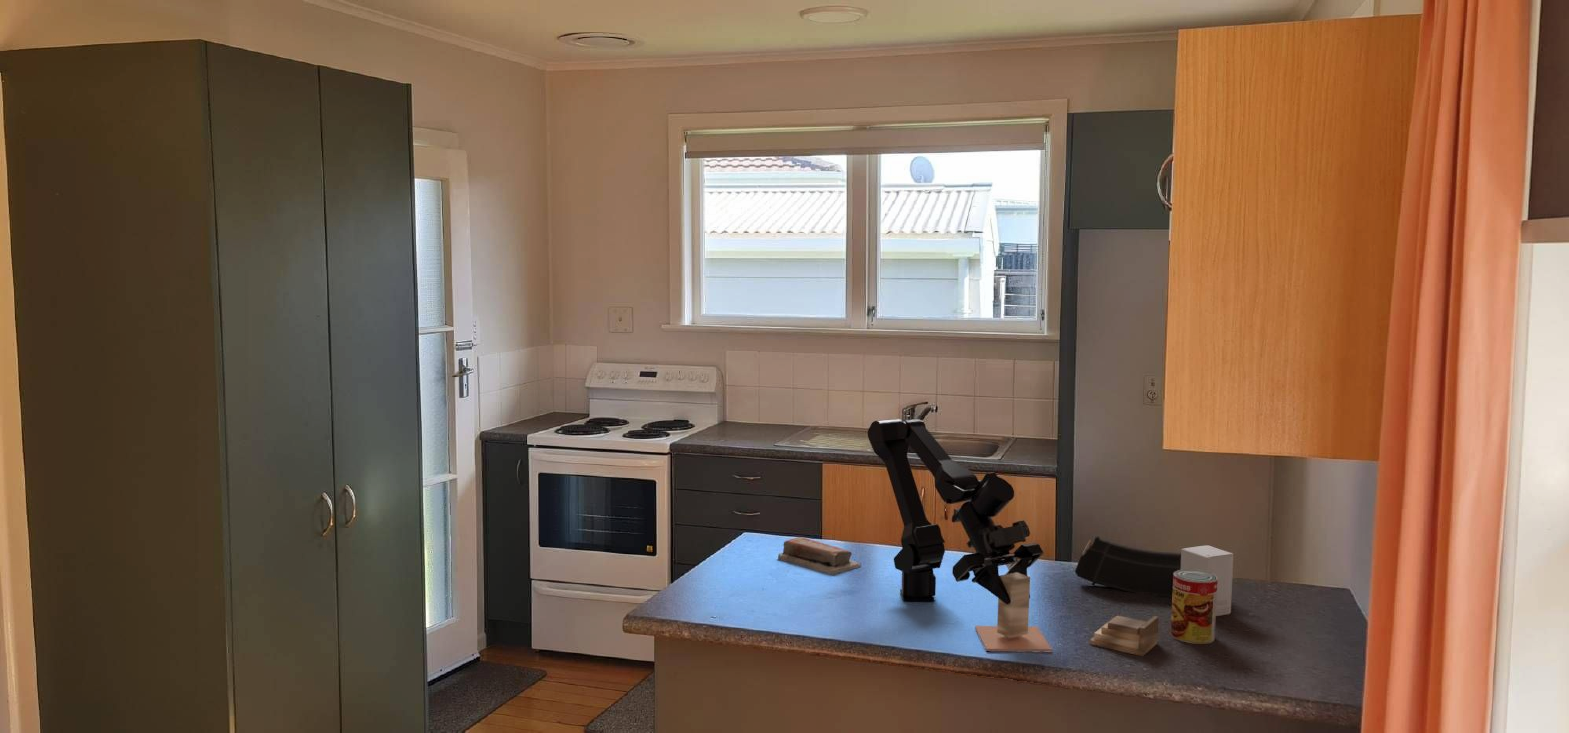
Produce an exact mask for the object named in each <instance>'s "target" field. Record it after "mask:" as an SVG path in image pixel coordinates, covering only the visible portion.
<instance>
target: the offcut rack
mask: <svg viewBox="0 0 1569 733" xmlns="http://www.w3.org/2000/svg"><path fill="white" fill-rule="evenodd" d="M1158 630H1159V616H1156V615H1153V616H1152V617H1151V618H1150V619H1148V620H1147V621H1145V620H1140V619H1136V618H1130V617H1127V616H1126V617H1125V616H1122V615H1116V616H1114V617H1113V618H1111V619H1110V620H1108V621H1107V622H1105V624H1104V625H1102V626H1101V627H1099V629H1097V631H1095V632H1094V633H1093V637H1091V638H1090V639H1089V645H1092V646H1096V645H1097V647H1101V648H1104V649H1105V648H1106V649H1110V650H1115V651H1119V652H1122V653H1127V654H1131V655H1136V656H1139V657H1144V656H1145V655H1146V654H1147V653H1149V651H1150V650H1152V649H1153V648H1154V647H1155V646H1156V645H1157V644H1158V632H1159V631H1158Z"/></svg>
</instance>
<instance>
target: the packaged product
mask: <svg viewBox="0 0 1569 733" xmlns="http://www.w3.org/2000/svg"><path fill="white" fill-rule="evenodd" d="M782 546H783V550H782V553H778V556H777V559H778V560H779V561H784V562H787V563H791V564H794V565H798V566H801V567H804V568H806V569H810V570H814V571H817V572H821V573H825V574H828V575H832V576H834V575H837V574H842V573H844V572H848V571H850V570H854V569H857V568H861V566H862V562H857V561H855V560H852V559H850V558H851V556H852V554H853V553H852V551H850V550H847V549H843V548H841V547H837V546H835V545H834V546H833V545H830V544H827V543H824V542H821V541H818V540H814V539H810V538H807V537H802V536H798V537H794V538H790V539H787V540H785V541H783V545H782Z"/></svg>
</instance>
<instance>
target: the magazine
mask: <svg viewBox="0 0 1569 733" xmlns="http://www.w3.org/2000/svg"><path fill="white" fill-rule="evenodd" d="M1178 570H1181V553H1179V552H1169V551H1167V552H1166V551H1154V550H1149V549H1148V550H1147V549H1140V548H1138V547H1137V548H1135V547H1131V546H1126V545H1123V544H1118V543H1115V542H1112V541H1109V540H1104V539H1101V538H1100V536H1099V535H1096V536H1095V538H1094V539H1093V541H1092V539H1089V540H1088V542H1087V543H1086V545H1085V548H1084V550H1083V552H1082V553H1081V554H1080V556H1079V559H1078V562H1077V565H1076V566H1075V570H1074V574H1076V576H1077V577H1079V578H1081V579H1084V580H1086V581H1089V582H1091V583H1092V584H1091V585H1094V586H1095V585H1096V584H1097V585H1100V586H1104V587H1108V588H1113V589H1116V588H1117V590H1120V589H1121V590H1120V591H1126V592H1130V591H1131V593H1135V592H1137V594H1142V593H1143V594H1144V595H1151V594H1156V595H1155V596H1159V595H1162V596H1161V597H1168V596H1169V597H1170V598H1172V595H1173V575H1174V572H1175V571H1178ZM1143 594H1142V595H1143Z"/></svg>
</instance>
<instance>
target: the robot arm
mask: <svg viewBox="0 0 1569 733" xmlns="http://www.w3.org/2000/svg"><path fill="white" fill-rule="evenodd" d="M867 438H868V441H869V443H870V446H871V448H872V451H873V452H874V453H875V455H877V457H878V458H879V459H881V460H882V461H883V463H884V464H885V467H886V470H887V473H888V477H889V481H890V485H891V487H892V490H893V493H894V498H895V500H896V505H897V507H898V510H899V514H900V517H901V520H902V523H903V530H902V533H901V537H900V542H901V543H900V544H901V547H902V548H901V549H900V550H899V551H898V553H897V554H896V555H895V556H894V557H893V563H894V564H893V565H894V568H895V569H896V570H898V571H900V572H901V588H900V590H899V593H900V595H901V598H902V601H904V602H934V601H935V596H936V588H937V586H936V583H937V577H936V575H935V573H934V569H940V568H941V565H942V562H943V558H944V557H945V556H944V555H945V552H946V547H945V543H946V542H945V540H944V538H943V535H942V532H941V527H940V526H939V524H938V523H936V524H935V523H934V524H932V523H931V522H930V521H929V520H928V518H927V516H926V513H925V510H924V506H923V502H922V500H921V496H920V493H919V489H918V486H917V483H916V481H915V477H914V473H913V470H912V467H911V465H910V461H909V459H908V453H909V448H911V450H912V451H913V452H914V453H915V454H916V456H917V457H918V458H919V460H920V461H921V462H922V463H923V464H924V465H925V467H926V468H927V470H929V472H930V473H931V474H932V476H933V478H934V488H935V489H936V491H937V493H938V494H939V496H940V498H941V500H942V501H943V502H944V504H945V503H946V504H947V505H952V504H959V503H962V504H961V506H960V507H956V508H954V509H953V514H952V516H951V522H952V523H959V522H960V524H961V526H962V528H963V529H964V532H965V533H966V535H967V537H968V539H969V541H967V543H966V546H968V549H971V548H973V549H974V551H975V552H974V553H968V554H964V555H962V557H961V558H960V559H958V561H957V562H956V563H955V564H953V566H952V575H953V578H954V579H955V581H956V582H963V581H968V580H969V579H970V576H971V572H972V573H973V574H972V575H974V577H973V578H972V579H971V582H972V583H976V584H978V585H979V586H980V587H982V588H984V589H985V590H987V591H988V592H989V593H991V594H993V596H995V597H996V598H997V599H998V598H999V599H1000V600H1001V601H1003V602H1004V603H1005V604H1009V603H1010V602H1011V600H1010V598H1009V595H1008V593H1007V591H1006V589H1005V587H1004V585H1003V583H1002V581H1001V578H1000V574H999V567H1001V566H1006V568H1007V569H1008V571H1007V572H1006V573H1005V574H1011V573H1016V572H1018V573H1020V574H1023V575H1026V576H1028V569H1029V568H1030V567H1031V566H1032V565H1033V564H1035V563H1036V562H1037V561H1038V560H1039V558H1040V557H1042V556H1043V555H1044V551H1043V549H1042V547H1041V546H1040V544H1039V543H1037V542H1030V543H1025V542H1027V538H1028V537H1030V535H1031V531H1030V527H1029V526H1028V524H1027V523H1026V521H1025V520H1018V521H1014V522H1012V526H1007V527H1004V526H1002V525H1001V524H998V525H996V524H995V522H994V520H993V518H994V517H997V515H999V514H1000V513H1001V512H1002V510H1003V509H1005V507H1006V506H1007V505H1009V503H1010V502H1011V501H1012V500H1013V499H1014V497H1015V490H1014V488H1013V486H1012V484H1011V483H1009V482H1008V481H1007V480H1006V479H1004V478H1002V477H1000V476H998V475H997V473H996V471H995V472H994V471H993V472H992V471H991V472H987V473H986V474H985V475H984V476H983V477H982V479H981V480H980V479H978V477H977V476H976V475H975V474H974V473H973V472H972V471H971V470H970V469H969V468H967V467H966V466H964V465H961V464H959V463H957V462H955V461H954V460H953V459H952V458H951V456H950V455H949V454H948V453H947V451H945V450H944V448H943V447H942V446H941V445H940V444H939V442H938V441H937V440H936V439H935V437H934V436H933V435H932V434H931V433H930V431H929V430H928V429H927V428H926V424H925V422H924V421H923V420H922V419H919V418H914V419H913V418H912V419H904V420H902V419H900V418H895V419H894V418H892V419H883V420H881V419H880V420H874V421H872V422H871V424H870V426H869V428H868V429H867ZM1018 543H1022V544H1020V546H1019V547H1018V548H1016V544H1018ZM1023 543H1024V544H1023ZM1015 548H1016V549H1015ZM1013 549H1015V550H1014V551H1013V552H1010V551H1012V550H1013ZM1030 599H1031V592H1030V593H1029V600H1030Z"/></svg>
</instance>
